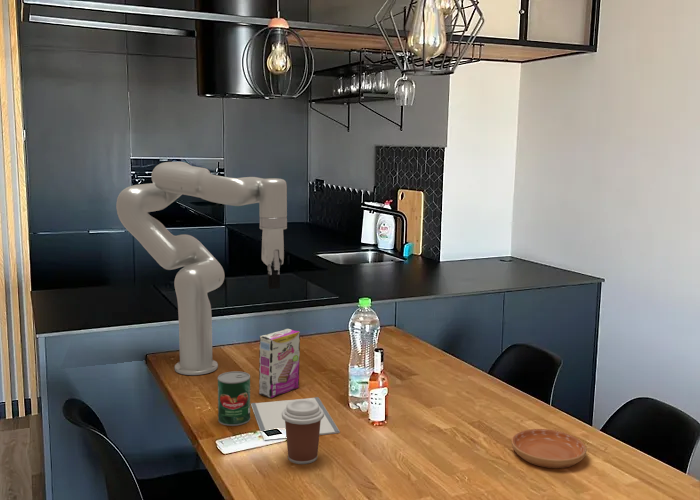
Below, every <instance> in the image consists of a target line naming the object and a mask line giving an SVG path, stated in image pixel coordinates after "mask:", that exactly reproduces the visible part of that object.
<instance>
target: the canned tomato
mask: <svg viewBox="0 0 700 500" xmlns="http://www.w3.org/2000/svg"><path fill="white" fill-rule="evenodd" d="M217 408H218V409H217V412H218V413H217V415H218V417H217V420H218V423H219V424H221V425H224V426H228V427H230V426H231V427H236V426H242V425H245V424H247V423H249V422H250V421H251V374H250V373H248V372H245V371H237V370H236V371H228V372H227V371H226V372H222V373H221V374H219V375H218V376H217Z"/></svg>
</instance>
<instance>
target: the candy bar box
mask: <svg viewBox="0 0 700 500" xmlns="http://www.w3.org/2000/svg"><path fill="white" fill-rule="evenodd" d="M300 339H301V331H299V330H295V329H291V328H285V329H282V330H278V331H274V332H271V333H270V332H269V333H268V334H267V333H266V334H263V335H259V359H258V360H259V369H258V371H259V373H258V374H259V375H258V376H259V377H258V379H259V383H258V391H259V392H258V394H259V395H261V396H264V397H267V398H269V399H273V398H275V397H278V396H280V395H283V394H285V393H288V392H291V391H294V390H296V389H298V388H300V352H301V351H300V349H301V348H300V347H301V346H300V345H301V344H300V341H301V340H300Z"/></svg>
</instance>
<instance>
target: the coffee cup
mask: <svg viewBox="0 0 700 500" xmlns="http://www.w3.org/2000/svg"><path fill="white" fill-rule="evenodd" d="M297 399H298V400H296V399H292V400H293V401H291V402H289V403H288V404H287V405H286V408H285V409H284V410H283V411H282V419H284V420H285V426H286V437H287V439H286V446H287V447H286V448H287V459H288V460H289V461H290V463H293V464H296V465H309V464H312V463H314V462H316V461H317V459H318V457H319V455H318V453H319V444H320V442H319V441H320V435H319V433H320V423H321V420H322V418H323V417H324V412H323V410H322V409H321V408H320V407H319V404H318V403H317V402H315V401H313V400H309V399H307V398H297Z"/></svg>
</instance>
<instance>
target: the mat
mask: <svg viewBox="0 0 700 500" xmlns="http://www.w3.org/2000/svg"><path fill="white" fill-rule="evenodd" d="M298 399H299V398H297V399H295V400H298ZM306 399H309V400H313V401H315V402H317V403H318V404H319V407H320V408H321V409H322V410H323V412H324V417H323V418H322V420H321V423H320V433H319V436H323V435H324V436H325V435H333V434H340V433H341V431H340V430H339V428H338V426H337V425H336V423H335V421H334V419H333V418H332V416H331V414H330V413H329V411H328V410H327V409H326V407H325V405H324V404H323V402H322V400H321V399H320V398H319V397H318V396H317V397H316V396H315V397H309V398H306ZM293 400H294V399H287V400H277V401H275V400H274V401H266V402H265V401H264V402H250V408H251V410H252V412H253V414H254V418H255V420H256V421H255V422H256V424H257V426H258V428H259V431H264V430H269V429H274V428H285V429H286V426H285V420H284V419H282V411H283V410H284V409H285V408H286V405H287V404H288V403H289V402H291V401H293Z"/></svg>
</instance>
